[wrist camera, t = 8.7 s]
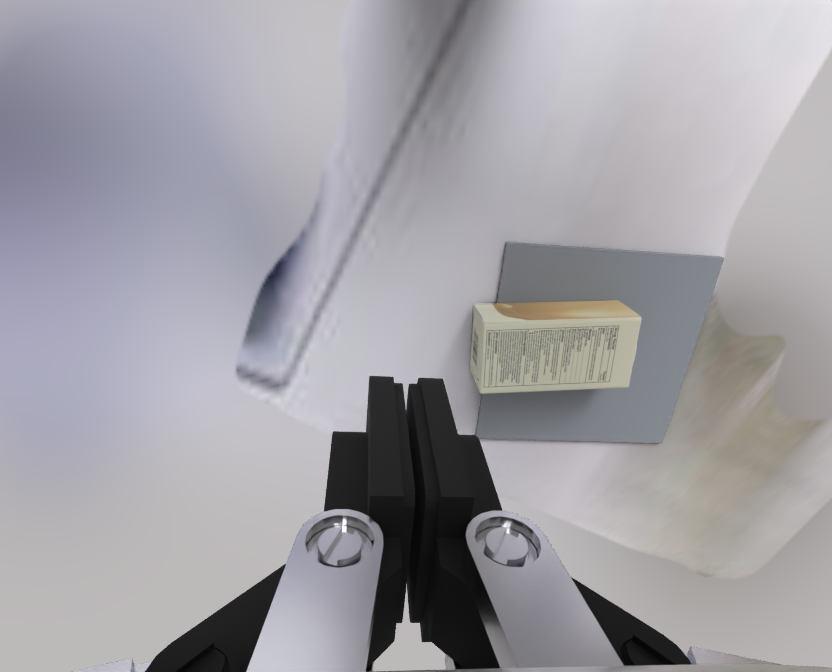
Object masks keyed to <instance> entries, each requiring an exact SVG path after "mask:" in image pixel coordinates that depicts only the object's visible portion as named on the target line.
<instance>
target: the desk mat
mask: <svg viewBox="0 0 832 672" xmlns="http://www.w3.org/2000/svg"><path fill="white" fill-rule="evenodd" d="M723 260H724V258H723V257H715V256H701V255H686V254H672V253H657V252H642V251H628V250H613V249H599V248H584V247H569V246H555V245H540V244H526V243H511V242H506V246H505V252H504V258H503V265H502V271H501V277H500V283H499V290H498V296H497V302H496V303H527V302H566V301H609V300H618V301H620V302H621V303H623V304H624V305H626V306H628V307H629V308H630V309H632V310H633V311H634V312H636V313H637V314H639V315H640V316H641V324H640V330H639V335H638V340H637V349H636V355H635V359H634V362H633V366H632V372H631V377H630V383H629V387H628V388H607V389H583V390H559V391H535V392H512V393H488V394H482V396H481V403H480V409H479V415H478V422H477V428H476V434H475V435H476V436H478V439H516V440H555V441H595V442H634V443H663V440H664V437H665V434H666V431H667V428H668V425H669V422H670V419H671V416H672V413H673V410H674V407H675V404H676V401H677V398H678V395H679V392H680V389H681V386H682V383H683V380H684V377H685V374H686V371H687V368H688V365H689V362H690V359H691V356H692V353H693V350H694V347H695V344H696V341H697V338H698V335H699V332H700V329H701V326H702V323H703V320H704V317H705V314H706V311H707V308H708V305H709V302H710V299H711V296H712V293H713V290H714V287H715V284H716V281H717V278H718V275H719V272H720V269H721V266H722V263H723Z"/></svg>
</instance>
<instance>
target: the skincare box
mask: <svg viewBox="0 0 832 672" xmlns="http://www.w3.org/2000/svg"><path fill="white" fill-rule="evenodd" d="M640 324H641V316H640V315H639V314H637V313H636V312H634V311H633V310H632V309H630V308H629V307H628V306H626V305H624V304H623V303H621V302H620V301H618V300H609V301H566V302H527V303H485V304H474V306H473V323H472V343H471V357H470V371H471V373H472V375H473V378H474V381H475V383H476V386H477V388H478V390H479V393H480V394H488V393H512V392H535V391H559V390H583V389H607V388H628V387H629V383H630V377H631V372H632V366H633V362H634V359H635V355H636V349H637V340H638V335H639V330H640Z"/></svg>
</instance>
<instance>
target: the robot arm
mask: <svg viewBox="0 0 832 672" xmlns="http://www.w3.org/2000/svg"><path fill="white" fill-rule="evenodd" d="M406 584H407V591H408V604H409V616H410V622H411V623H420V627H421V637H422V642H432V643H434V644H435V645H436V646H437V647H438V648H440V649H441V650H442V651H443V652H444V653H445V654H446V657H445V664H446V670H421V671H420V670H416V671H380V672H832V668H828V667H814V666H793V665H792V666H791V665H781V664H776V663H771V662H766V661H761V660H756V659H751V658H746V657H742V656H737V655H732V654H726V653H722V652H716V651H712V650H707V649H702V648H697V647H692V646H691V647H690V649H689V651H688V653H684V652H682V651H681V649H680V648H679V647H678V646H677V645H676V644H674V643H673V642H672V641H670V640H669V639H668V638H667V637H665V636H664V635H662V634H661V633H659V632H658V631H656V630H655V629H653V628H651V627H650V626H648V625H647V624H645V623H643V622H642V621H640V620H639V619H637V618H636V617H634V616H632V615H631V614H629V613H628V612H626V611H624V610H623V609H621V608H620V607H618V606H616V605H615V604H613V603H612V602H610V601H608V600H607V599H605V598H604V597H602V596H600V595H599V594H597V593H596V592H594V591H592V590H591V589H589V588H588V587H586V586H584V585H583V584H581V583H580V582H578V581H577V580H575V579H573V578H571V577H570V575H569V573H568V572H567V570H566V569H565V567H564V565H563V564H562V562H561V560H560V558H559V557H558V555H557V553H556V552H555V550H554V549H553V547H552V545H551V544H550V542H549V540H548V539H547V537H546V535H545V534H544V533H543V532H542V530H541V529H540V528H539V527H538V526H537V525H536V524H534V523H533V522H532V521H530V520H529V519H527V518H525V517H523V516H520V515H519V514H516V513H511V512H507V511H502V508H501V505H500V502H499V499H498V496H497V492H496V489H495V486H494V483H493V480H492V477H491V474H490V471H489V468H488V465H487V462H486V459H485V456H484V453H483V450H482V447H481V444H480V441H479V439H478V436H476V435H458V434H457V430H456V426H455V422H454V419H453V415H452V411H451V407H450V404H449V400H448V396H447V393H446V389H445V385H444V381H443V379H434V378H419V379H418V382H417V384H409V388H408V398H407V409H405V401H404V392H403V384H402V383H394V378H393V377H381V376H370V377H369V392H368V409H367V426H366V432H333V435H332V443H331V452H330V462H329V471H328V480H327V489H326V498H325V507H324V512H322V513H320V514H318V515H316V516H313V517H312V518H311V519H309V520H308V521H307V522H306V523H305V524H303V526H302V528H301V529H300V531H299V532H298V534H297V536H296V539H295V542H294V544H293V547H292V550H291V553H290V555H289V558H288V561H287V563H286V564H285V565H283V566H282V567H281V568H279V569H278V570H276V571H275V572H273V573H272V574H270V575H269V576H267V577H266V578H265V579H263V580H262V581H260V582H259V583H257V584H256V585H254V586H253V587H252V588H250V589H249V590H247V591H246V592H244V593H243V594H241V595H240V596H239V597H237V598H236V599H234V600H233V601H231V602H230V603H228V604H227V605H226V606H224V607H223V608H221V609H220V610H218V611H217V612H215V613H214V614H213V615H211V616H210V617H208V618H207V619H205V620H204V621H202V622H201V623H200V624H198V625H197V626H195V627H194V628H192V629H191V630H189V631H188V632H187V633H185V634H184V635H182V636H181V637H179V638H178V639H177V640H175V641H173V642H172V643H171V644H170V645H168V646H167V647H166V648H165V649H164V650H163V651H161V652H160V653H159V654H158V655H157V656H156V657H155V659H154V660H153V661H152V662H147V663H143V664H139V665H134V663H133V658H130V659H126V660H121V661H116V662H112V663H108V664H103V665H99V666H94V667H90V668H86V669H81V670H77V671H73V672H373V664H374V661H375V660H376V659H377V658H378V657H379V656H380V655H381V654H382V653H383V652H384V651H385V650H386V649H387V648H388V647H389V646H390V645H391V644H392V643H393V642H394V639H395V629H396V623H402V619H403V611H404V602H405V593H406ZM378 672H379V671H378Z"/></svg>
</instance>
